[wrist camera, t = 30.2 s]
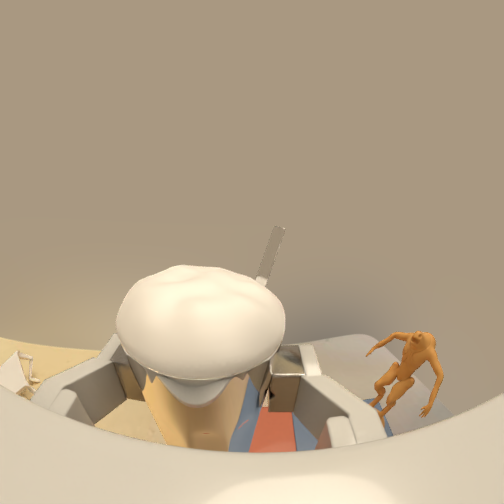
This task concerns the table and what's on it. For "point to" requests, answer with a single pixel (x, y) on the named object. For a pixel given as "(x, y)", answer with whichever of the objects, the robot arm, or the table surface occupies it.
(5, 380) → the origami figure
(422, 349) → the figurine
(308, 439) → the sorting board
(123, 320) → the milkshake
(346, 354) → the table surface
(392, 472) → the robot arm
